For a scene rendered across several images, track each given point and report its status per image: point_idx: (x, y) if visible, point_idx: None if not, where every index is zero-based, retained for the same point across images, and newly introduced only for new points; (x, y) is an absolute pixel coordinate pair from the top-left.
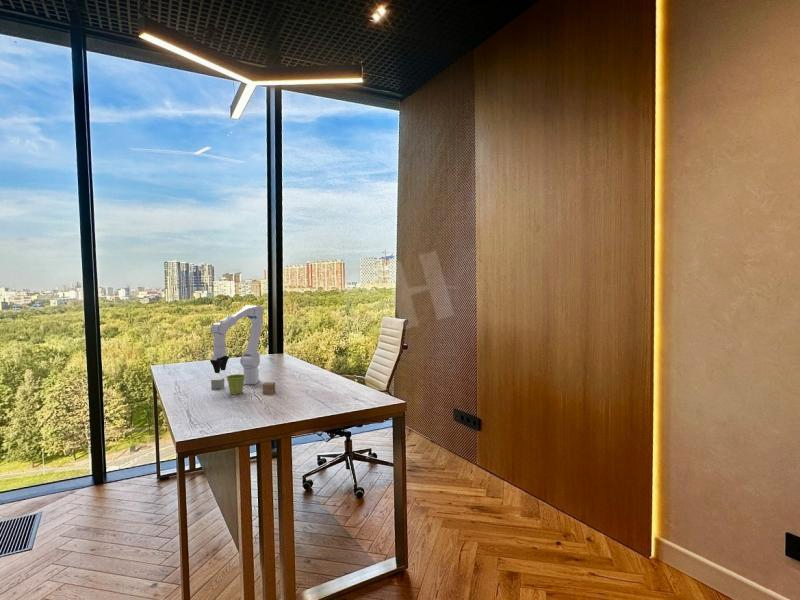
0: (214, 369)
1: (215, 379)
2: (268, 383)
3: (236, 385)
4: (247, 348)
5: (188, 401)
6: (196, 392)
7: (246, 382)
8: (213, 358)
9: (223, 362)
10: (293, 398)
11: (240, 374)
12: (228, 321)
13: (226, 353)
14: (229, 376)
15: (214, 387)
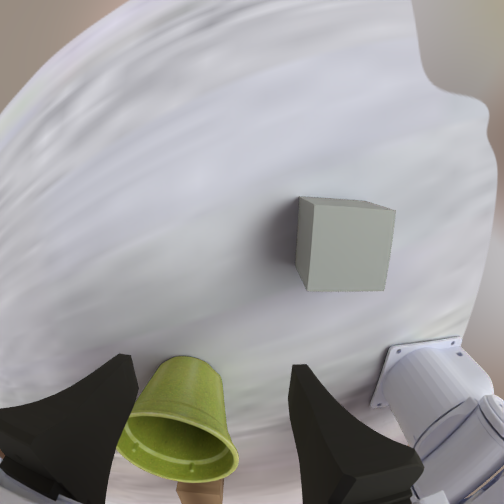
0: (93, 376)
1: (332, 238)
2: (196, 499)
3: (144, 421)
4: None
5: (16, 195)
6: (196, 126)
7: (390, 375)
8: None
9: (308, 459)
10: (145, 499)
11: (236, 465)
12: None
13: None
14: (187, 419)
15: (299, 222)
